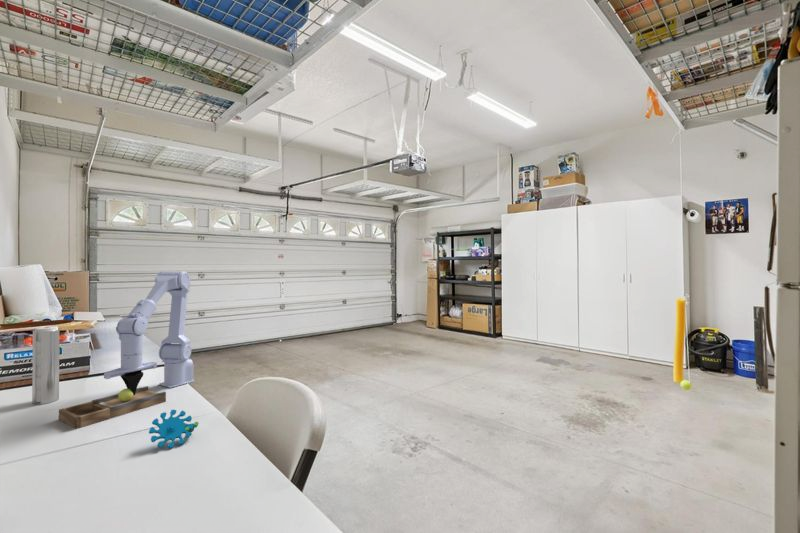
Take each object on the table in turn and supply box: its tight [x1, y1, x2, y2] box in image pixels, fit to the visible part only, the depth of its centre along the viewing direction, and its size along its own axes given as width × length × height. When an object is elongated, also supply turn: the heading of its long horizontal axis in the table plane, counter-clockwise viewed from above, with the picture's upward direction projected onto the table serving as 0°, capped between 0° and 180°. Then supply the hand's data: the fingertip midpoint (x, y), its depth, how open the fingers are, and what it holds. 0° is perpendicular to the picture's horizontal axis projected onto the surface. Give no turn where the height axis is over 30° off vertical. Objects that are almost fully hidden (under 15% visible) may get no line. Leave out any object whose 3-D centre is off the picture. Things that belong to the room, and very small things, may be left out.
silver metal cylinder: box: [31, 325, 60, 406], centre depth 122 cm, size 6×6×25 cm
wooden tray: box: [58, 385, 167, 430], centre depth 115 cm, size 24×12×3 cm, turn 151°
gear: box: [148, 409, 199, 449], centre depth 96 cm, size 11×6×10 cm
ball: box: [117, 388, 133, 402], centre depth 118 cm, size 4×4×4 cm
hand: (131, 395), depth 119 cm, fingers closed, pressing on ball
